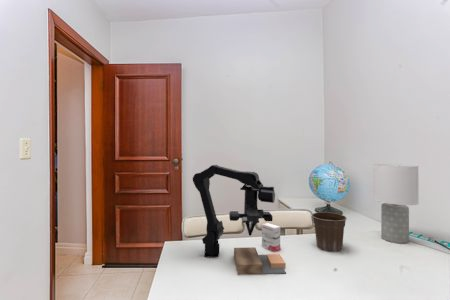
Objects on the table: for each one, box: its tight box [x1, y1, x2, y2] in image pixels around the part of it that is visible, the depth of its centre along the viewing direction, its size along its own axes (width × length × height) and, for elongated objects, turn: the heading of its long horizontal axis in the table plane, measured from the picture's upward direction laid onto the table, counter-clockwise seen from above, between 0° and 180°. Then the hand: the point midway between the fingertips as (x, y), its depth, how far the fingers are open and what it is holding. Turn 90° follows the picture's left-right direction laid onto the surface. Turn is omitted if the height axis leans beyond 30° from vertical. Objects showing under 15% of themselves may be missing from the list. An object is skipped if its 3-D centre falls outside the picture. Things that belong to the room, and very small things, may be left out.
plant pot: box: [311, 211, 347, 253], centre depth 124 cm, size 16×16×16 cm
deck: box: [233, 246, 264, 276], centre depth 105 cm, size 10×17×4 cm, turn 3°
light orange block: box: [265, 253, 286, 269], centre depth 105 cm, size 6×9×2 cm, turn 2°
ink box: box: [261, 222, 281, 253], centre depth 122 cm, size 8×5×12 cm, turn 39°
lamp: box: [372, 163, 419, 245], centre depth 135 cm, size 21×21×42 cm
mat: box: [258, 254, 287, 275], centre depth 105 cm, size 10×17×1 cm, turn 3°
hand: (249, 235), depth 108 cm, fingers closed
